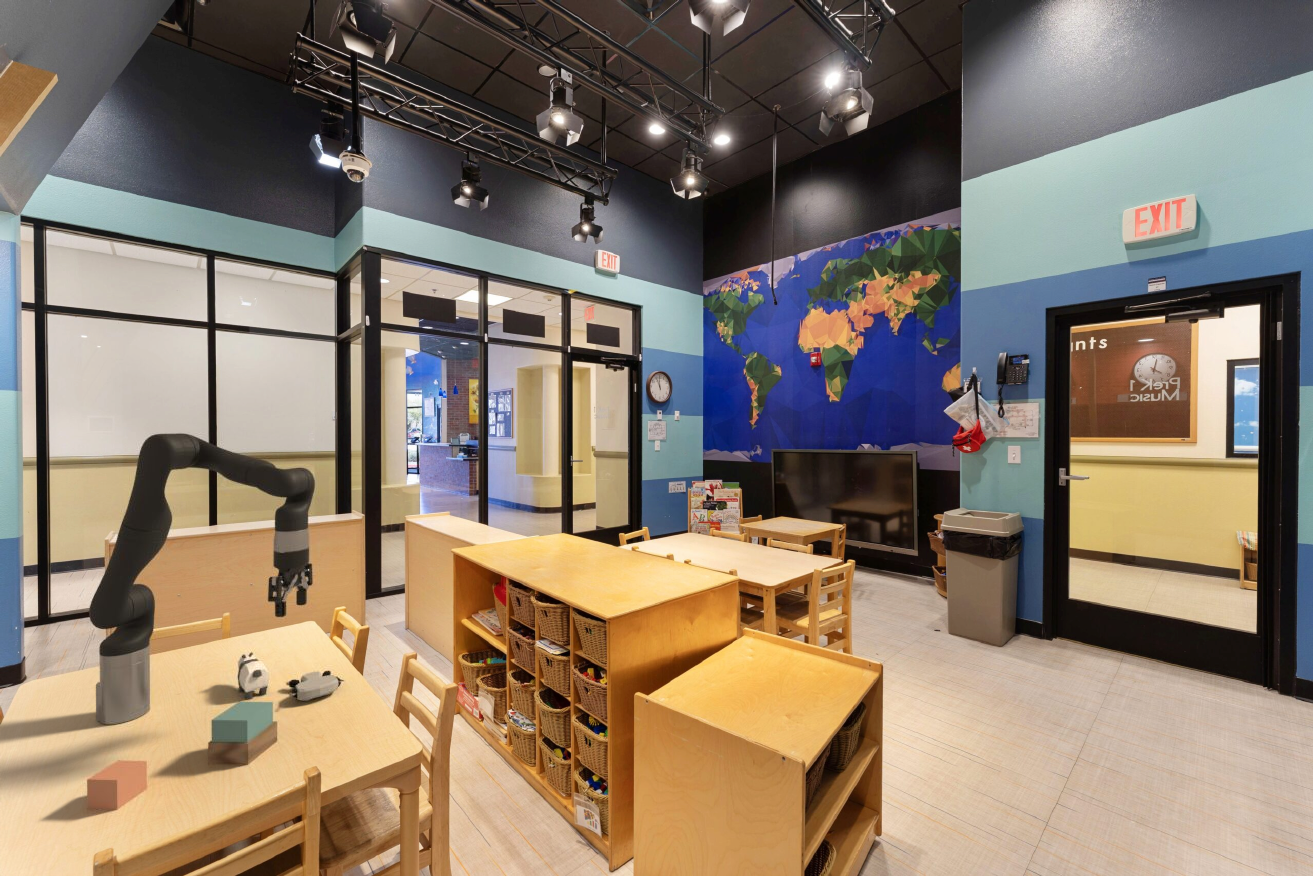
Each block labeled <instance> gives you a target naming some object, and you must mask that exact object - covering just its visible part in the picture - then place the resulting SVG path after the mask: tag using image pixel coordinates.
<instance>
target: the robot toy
mask: <svg viewBox="0 0 1313 876" xmlns="http://www.w3.org/2000/svg"><path fill="white" fill-rule="evenodd" d="M331 674H332V670H325V671H323V673H322V672H320V671H312V672H308V673H305V674H303V675H302V676H301V677H300V680H299V679H291V680H289V681H286V682H285V685H287V686H289V688H292V690H291V693H290V694H289V695H290V696H292V697H293V698H295V699H297V700H298V701H302V702H303V701H304V702H309V701H311V700H312V699H315V698H320V697H323V696H329V695H330V694H332V693H334V692H335V691H336V690H338V688H339V687H340V686H341V684H342V682H345V679H341V678H340V677H338V676H336V675H334V674H333V675H331Z"/></svg>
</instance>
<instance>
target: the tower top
mask: <svg viewBox="0 0 1313 876" xmlns="http://www.w3.org/2000/svg"><path fill="white" fill-rule="evenodd" d="M273 721H274V702H273V701H238V702H236V703H235V704H234V705H232V706H230V707H229V708H228V709H226V710H225V711H223V712H221V713H220V714H218V715H216V717H214V718H212V719H211V740H212V742H239V743H248V742H249V741H250V740H251V739H253V738H254V737H255V736H257V735H258V734H259V733H260V732H262V731H263V730H264V729H266V728H267V727H268V726H270V725H271V724H272V723H273Z"/></svg>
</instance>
